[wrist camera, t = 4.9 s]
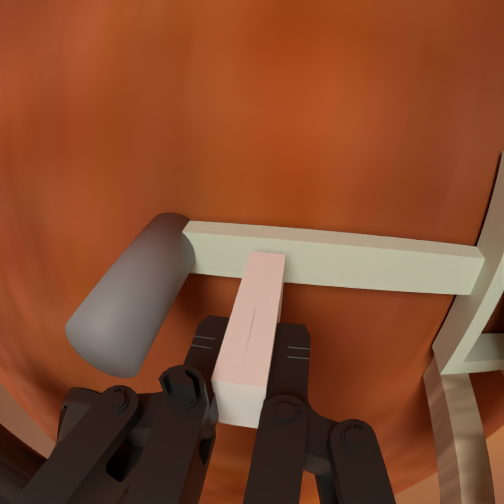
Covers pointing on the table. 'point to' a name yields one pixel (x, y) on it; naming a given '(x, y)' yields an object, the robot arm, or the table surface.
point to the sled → (296, 271)
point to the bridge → (458, 439)
